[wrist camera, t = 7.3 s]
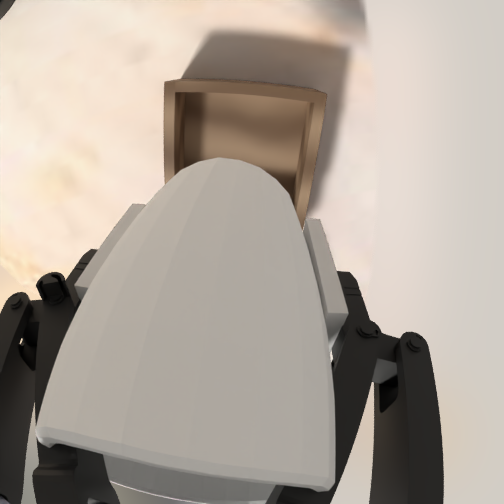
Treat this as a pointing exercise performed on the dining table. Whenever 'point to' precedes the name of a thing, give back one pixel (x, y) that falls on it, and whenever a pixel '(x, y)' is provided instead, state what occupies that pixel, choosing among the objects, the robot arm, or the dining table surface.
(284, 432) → the cup
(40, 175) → the dining table surface
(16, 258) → the dining table surface
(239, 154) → the wooden open tray
